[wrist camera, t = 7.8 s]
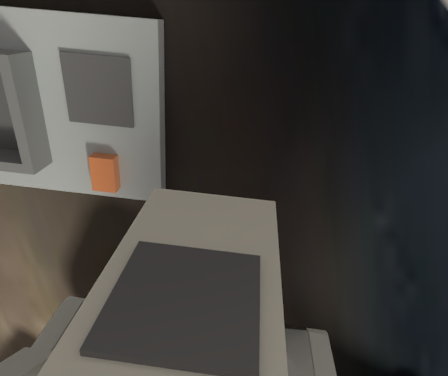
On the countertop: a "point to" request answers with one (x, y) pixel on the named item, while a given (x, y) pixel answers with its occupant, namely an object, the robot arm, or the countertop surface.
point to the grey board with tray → (82, 102)
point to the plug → (184, 295)
